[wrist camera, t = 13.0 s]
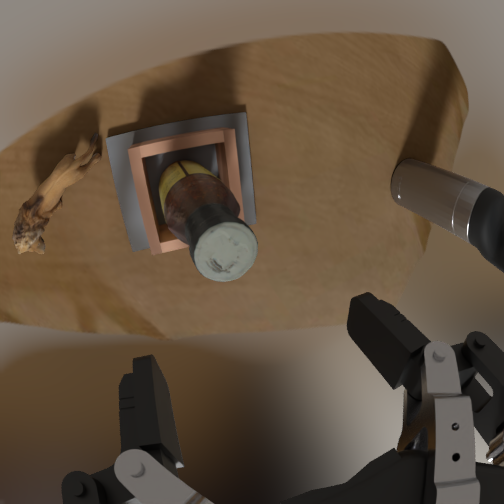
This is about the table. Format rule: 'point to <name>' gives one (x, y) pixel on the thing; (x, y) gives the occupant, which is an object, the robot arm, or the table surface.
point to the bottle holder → (167, 152)
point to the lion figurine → (49, 200)
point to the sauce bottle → (207, 221)
